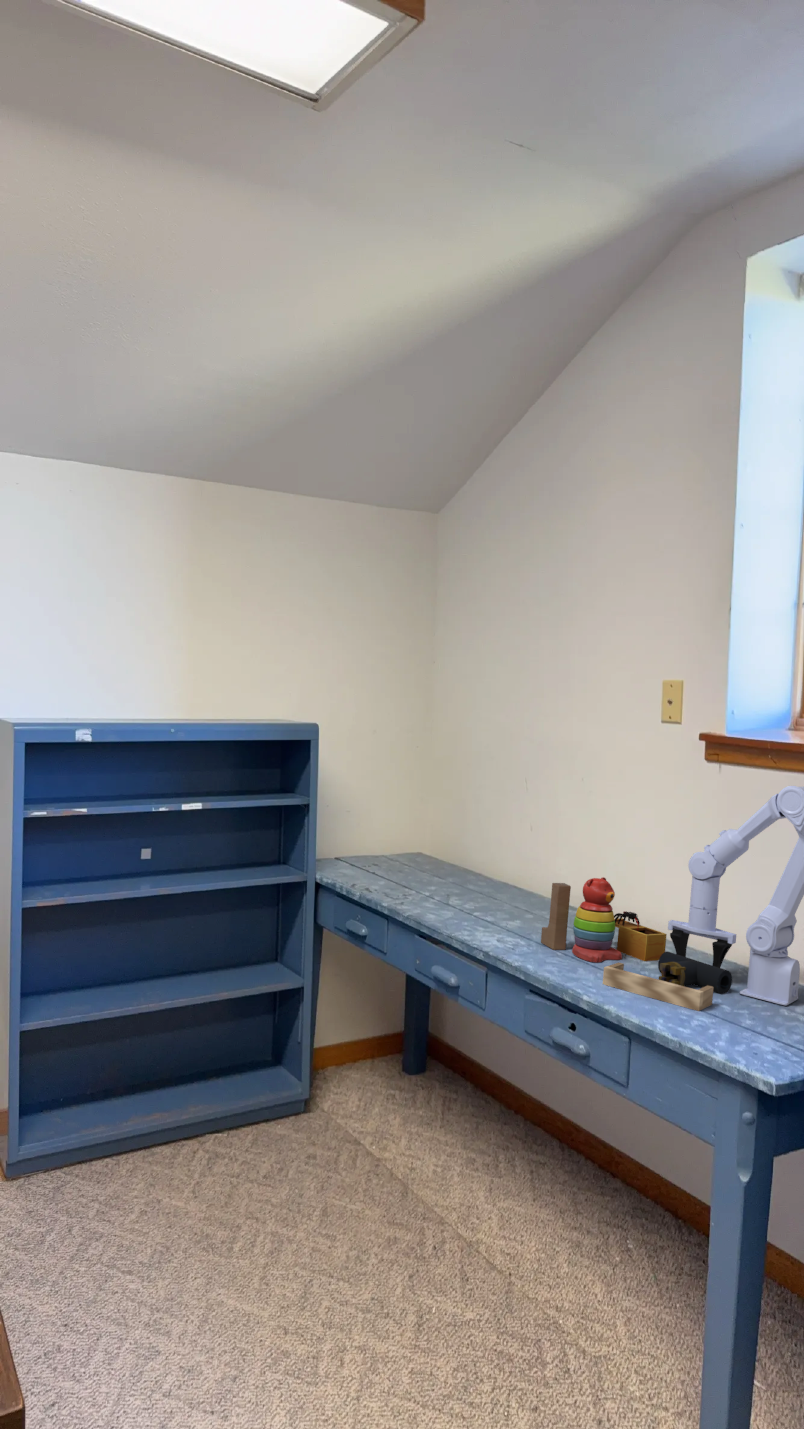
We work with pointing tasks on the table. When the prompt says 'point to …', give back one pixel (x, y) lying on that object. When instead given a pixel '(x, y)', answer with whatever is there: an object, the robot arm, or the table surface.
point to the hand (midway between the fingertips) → (698, 969)
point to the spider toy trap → (638, 938)
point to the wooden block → (557, 918)
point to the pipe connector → (693, 973)
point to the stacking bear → (595, 923)
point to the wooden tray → (657, 988)
